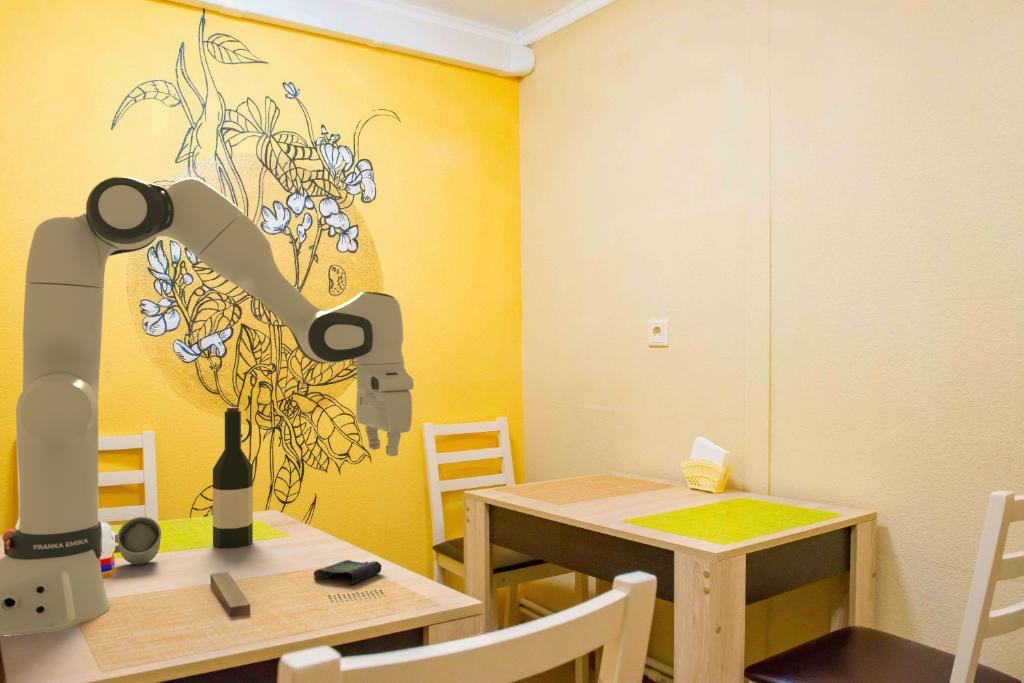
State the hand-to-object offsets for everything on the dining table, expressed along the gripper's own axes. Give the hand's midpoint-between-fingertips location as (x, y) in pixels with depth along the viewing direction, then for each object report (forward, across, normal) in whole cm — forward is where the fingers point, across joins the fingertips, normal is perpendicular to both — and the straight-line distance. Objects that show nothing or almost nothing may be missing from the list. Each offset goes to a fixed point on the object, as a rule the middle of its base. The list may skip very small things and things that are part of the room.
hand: (383, 452), depth 149 cm
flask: (+25, +1, -10) cm, 27 cm away
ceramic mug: (+23, -32, -41) cm, 57 cm away
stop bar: (+23, +1, -28) cm, 37 cm away
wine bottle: (+24, -41, -20) cm, 52 cm away
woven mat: (+24, +13, -10) cm, 29 cm away
